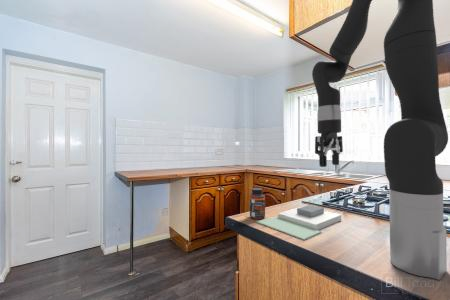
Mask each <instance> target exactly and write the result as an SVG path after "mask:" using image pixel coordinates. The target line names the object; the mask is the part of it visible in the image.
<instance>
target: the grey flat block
mask: <svg viewBox="0 0 450 300" xmlns="http://www.w3.org/2000/svg"><path fill="white" fill-rule="evenodd" d="M303 206H304V207H302V206H300V207H301V208H298V207H296V208H297V214H300V215H303V216H307V217H311V218H312V217H315V216H318V215H320V214H323V213H324V211H325V208H324V207H321V206H317V205H312V204H308V205H307V204H306V205H303Z"/></svg>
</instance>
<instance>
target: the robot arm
mask: <svg viewBox="0 0 450 300" xmlns="http://www.w3.org/2000/svg"><path fill="white" fill-rule="evenodd" d="M372 1H373V0H352V2H351V4H350V6H349V9H348V12H347V15H346V17H345V20H344V21H343V24H342V25H341V27H340V29H339V31H338V33H337V35H336V37H335V38H334V40H333V42H332V44H331V46H330V48H329V50H328V51H329V52H328V53H329V56H330V57H331V58H332V59H334V60H333V61H332V60H320V61H318V62H317V63H315V64H314V66H313V69H312V73H311V75H312V81H313V83H314V87H315V90H316V94H317V114H316V115H317V117H316V119H317V133H318V134H320V135H319V136H318V135H317V136H315V138H314V139H315V141H314V154H315V155H318V159H319V161H318V162H319V167H322V168H323V167H324V168H325V167H327V166H328V165H327V164H328V162H327V161H328V159H327V157H328V156H327V154H328V152H329V151H330V152H331V154H332V155H331V164H332V165H333V166H335V165H336V166H337V165H338V166H339V165H340V154H341V153H343V151H344V149H343V136H342V135H338V134H340V133H341V132H342V111H341V92H340V90H339V89H338V88H335V87H332V86H331V84H332V83H333V84H334V83H338V82H340V81H341V80H342V79H344V77H346V74H347V71H348V67H349V65H350V62H351V59H352V56H353V55H354V53H355V52H356V50H357V49H358V47H359V46H360V44H361V43H362V41H363V39H364V37H365V35H366V32H367V30H368V23H369V11H370V7H371V4H372ZM436 32H437V31H436V26H435V17H434V1H433V0H397V10H396V12H395V15H394V16H393V19H392V20H391V22H390V24H389V26H388V28H387V31H386V32H385V35H384V40H383V54H384V63H385V64H384V65H385V69H386V72H387V73H386V74H387V75H388V78H389V80H390V83H391V84H392V85H391V86H393V88H394V91H395V93H396V95H397V98H398V100H399V105H400V114H401V115H400V117H401V118H400V120H398V121H396V122H394V123H392V124H391V125H389V127H388V128H387V130H386V132H385V135H384V137H383V160H384V171H385V176H386V179H387V180H388V187H389V190H388V191H389V193H388V194H389V198H388V199H389V202H388V203H389V255H390V256H389V257H390V260H389V261H390V263H391V264H392V265H393V266H395V267H396V268H397V269H399V270H401V271H403V272H406V273H407V274H411V275H414V276H415V275H416V276H418V277H419V276H420V277H423V278H431V279H435V280H438V281H440V280H441V279H442V277H443V276H444V275H445V273H446V272H447V266H448V265H447V263H448V262H447V228H446V226H444V182H443V180H442V179H441V178H440V177H439V175H438V173H437V167H436V158H437V156H439V155H441V154H442V153H443V152H444V151H445V149H446V147H447V145H448V143H449V133H448V129H447V124H446V120H445V117H444V112H443V108H442V103H441V98H440V89H439V88H440V86H439V85H440V84H439V83H440V82H439V81H440V79H439V76H440V75H439V62H438V44H437V33H436ZM330 83H331V84H330Z"/></svg>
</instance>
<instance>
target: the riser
mask: <svg viewBox="0 0 450 300" xmlns="http://www.w3.org/2000/svg"><path fill="white" fill-rule="evenodd" d="M304 206H305V205H302V206H299V207H295V208H292V209H288V210H285V211H280V212H278V213H277V218H280V219H283V220H287V221H290V222H293V223H296V224H299V225H302V226H305V227H309V228H312V229H315V230H318V231H320V230H321V229H323V228H326V227H328V226H331V225H333V224H336V223H338V222H340V221H342V214H340V213H335V212H330V211H327V210H324V213H323V214H320V215H318V216H315V217H312V218H311V217H307V216H303V215H300V214H297V208H301V207H304Z"/></svg>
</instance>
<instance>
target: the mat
mask: <svg viewBox="0 0 450 300" xmlns="http://www.w3.org/2000/svg"><path fill="white" fill-rule="evenodd" d="M256 223H257V224H260V225H262V226H265V227H267V228H270V229H272V230H273V229H274V230H276V231H278V232H281V233H283V234H286V235H289V236H291V237H294V238H297V239H299V240H302V241H306V240H308V239H310V238H312V237H315V236H318V235H319V234H321V233H322V230H321V231H320V230H315V229H312V228H309V227H305V226H302V225H299V224H296V223H293V222H290V221H287V220H283V219H280V218H278V216H271V217H268V218H263V219H259V220H257V221H256Z"/></svg>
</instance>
